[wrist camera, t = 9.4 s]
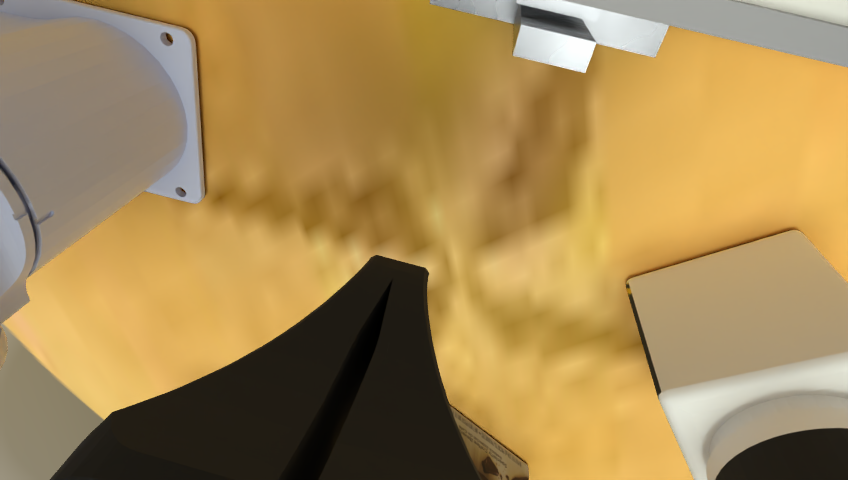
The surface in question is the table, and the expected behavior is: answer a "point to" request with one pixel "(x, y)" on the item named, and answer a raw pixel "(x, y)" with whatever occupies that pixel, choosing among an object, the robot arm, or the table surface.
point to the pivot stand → (565, 29)
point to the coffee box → (489, 453)
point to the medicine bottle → (751, 359)
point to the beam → (752, 22)
